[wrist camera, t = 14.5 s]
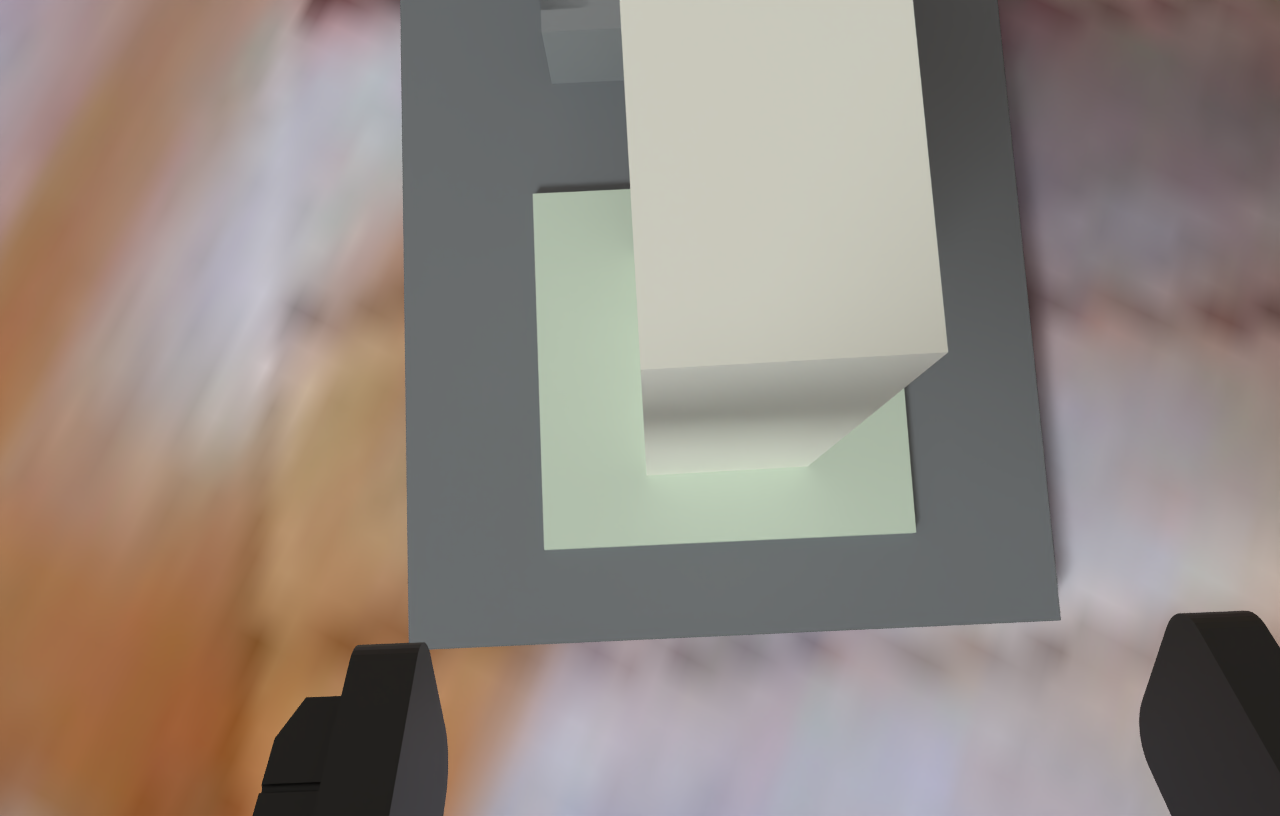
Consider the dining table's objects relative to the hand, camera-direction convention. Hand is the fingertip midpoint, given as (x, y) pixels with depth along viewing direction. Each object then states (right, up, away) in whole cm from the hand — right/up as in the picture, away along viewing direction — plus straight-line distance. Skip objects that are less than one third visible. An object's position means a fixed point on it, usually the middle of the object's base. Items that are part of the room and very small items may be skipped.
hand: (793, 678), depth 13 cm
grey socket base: (0, +10, +15) cm, 18 cm away
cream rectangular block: (0, +4, +13) cm, 13 cm away
